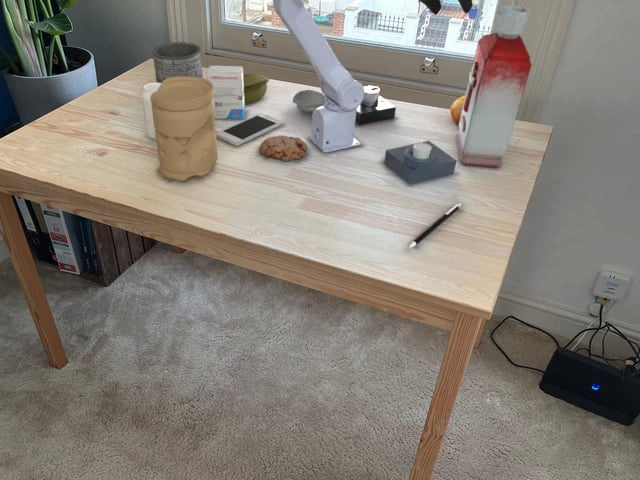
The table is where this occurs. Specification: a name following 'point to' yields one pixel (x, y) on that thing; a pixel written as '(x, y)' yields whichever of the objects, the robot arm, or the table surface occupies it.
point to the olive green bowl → (254, 87)
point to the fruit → (457, 109)
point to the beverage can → (149, 107)
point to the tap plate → (375, 112)
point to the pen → (435, 225)
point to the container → (185, 127)
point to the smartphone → (248, 129)
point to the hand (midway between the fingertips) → (453, 10)
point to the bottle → (494, 90)
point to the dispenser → (419, 163)
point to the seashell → (309, 100)
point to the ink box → (227, 91)
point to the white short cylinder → (421, 151)
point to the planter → (177, 61)
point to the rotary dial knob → (371, 96)
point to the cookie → (283, 147)
